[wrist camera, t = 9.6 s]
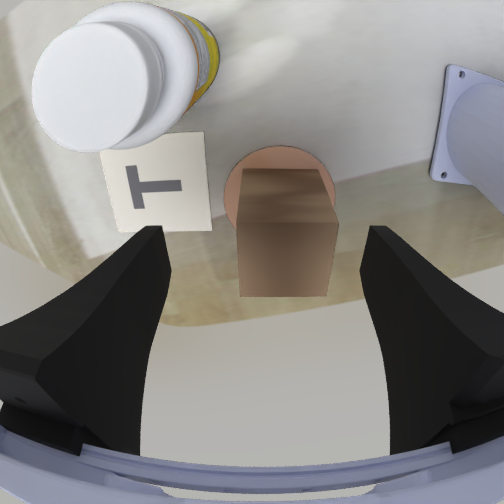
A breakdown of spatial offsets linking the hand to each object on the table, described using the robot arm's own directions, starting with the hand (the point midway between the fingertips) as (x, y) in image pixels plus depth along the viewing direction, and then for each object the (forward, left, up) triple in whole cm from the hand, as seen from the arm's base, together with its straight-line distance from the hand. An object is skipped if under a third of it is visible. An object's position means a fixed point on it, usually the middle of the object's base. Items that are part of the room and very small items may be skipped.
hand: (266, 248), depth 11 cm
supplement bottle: (+5, -6, -10) cm, 12 cm away
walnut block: (-1, +3, -9) cm, 9 cm away
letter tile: (+7, +2, -9) cm, 12 cm away
